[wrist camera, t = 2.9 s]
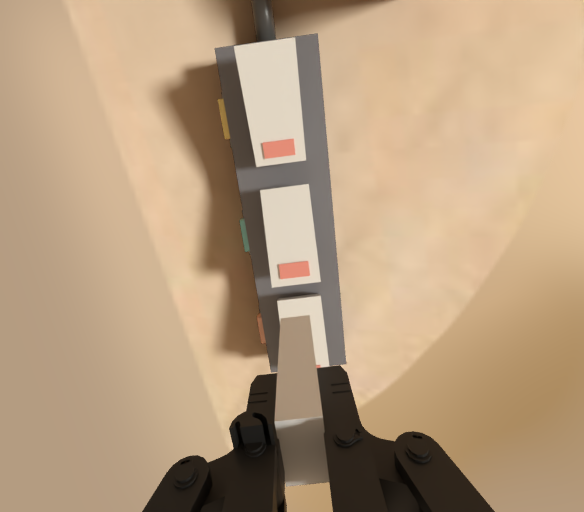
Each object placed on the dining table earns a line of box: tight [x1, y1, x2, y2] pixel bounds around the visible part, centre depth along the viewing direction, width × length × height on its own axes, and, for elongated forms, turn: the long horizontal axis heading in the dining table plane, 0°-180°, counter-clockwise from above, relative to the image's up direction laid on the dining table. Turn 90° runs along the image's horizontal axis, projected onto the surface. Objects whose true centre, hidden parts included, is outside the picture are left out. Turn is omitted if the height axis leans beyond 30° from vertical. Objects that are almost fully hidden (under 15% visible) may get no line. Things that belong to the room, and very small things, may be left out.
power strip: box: [215, 0, 346, 372], centre depth 28 cm, size 36×8×5 cm, turn 7°
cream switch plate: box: [260, 184, 321, 288], centre depth 26 cm, size 8×4×2 cm, turn 7°
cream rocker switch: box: [277, 294, 329, 368], centre depth 29 cm, size 8×4×2 cm, turn 7°
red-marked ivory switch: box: [234, 37, 306, 167], centre depth 23 cm, size 8×4×2 cm, turn 8°
